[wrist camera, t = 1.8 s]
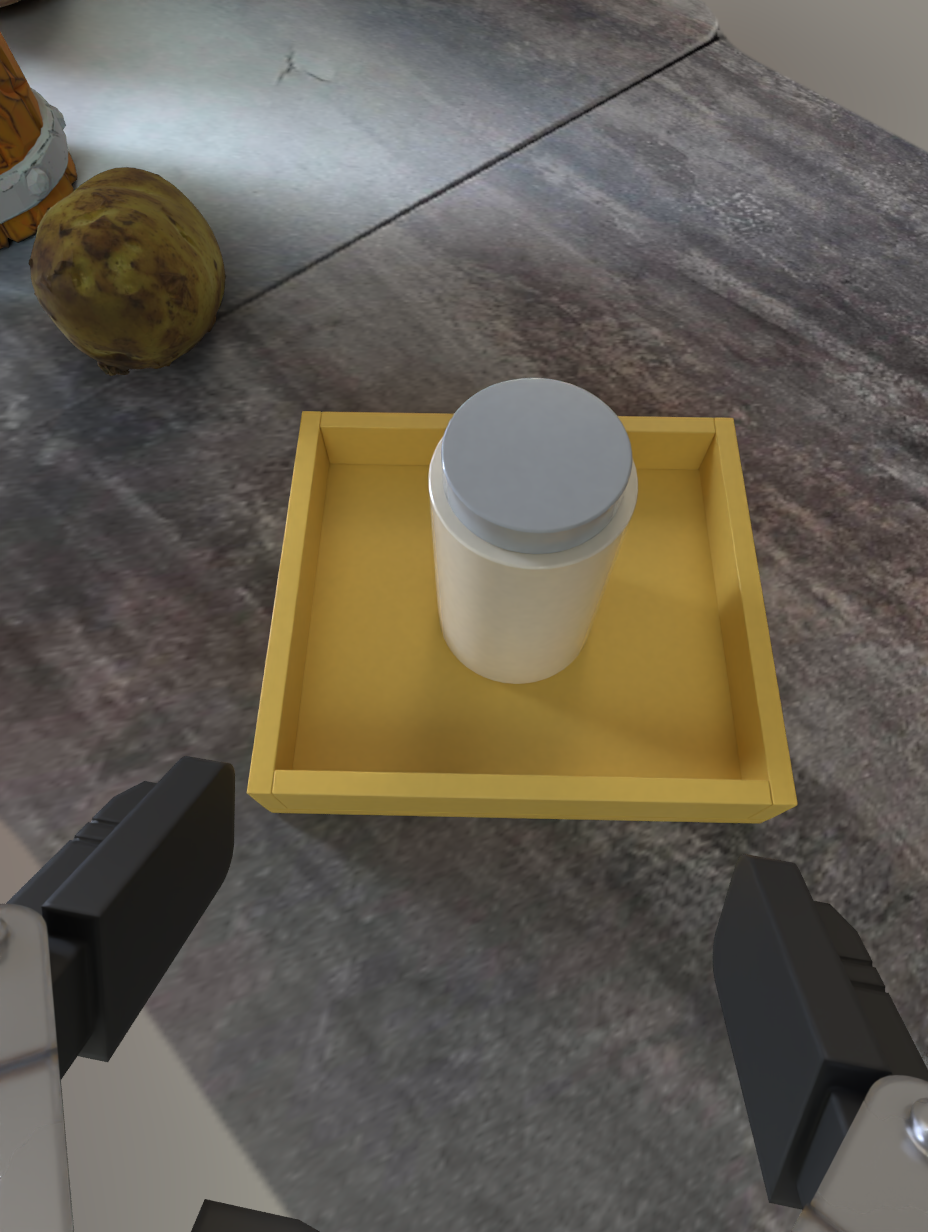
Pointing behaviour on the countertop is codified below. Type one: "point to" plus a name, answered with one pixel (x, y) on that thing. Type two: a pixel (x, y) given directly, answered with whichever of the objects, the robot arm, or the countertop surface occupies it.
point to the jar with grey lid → (527, 524)
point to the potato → (128, 270)
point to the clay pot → (7, 2)
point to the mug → (28, 154)
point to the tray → (532, 712)
